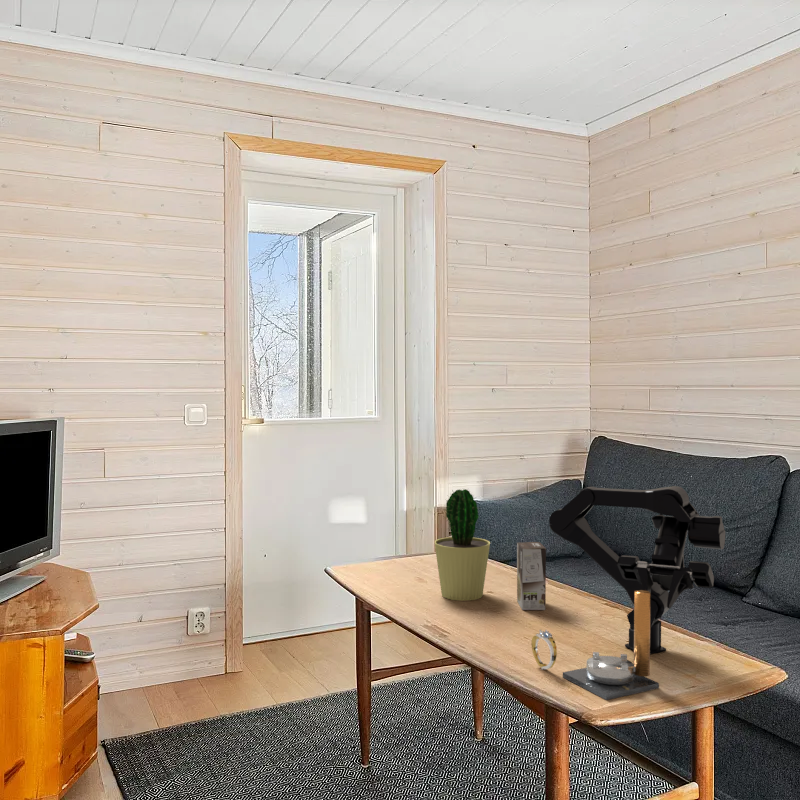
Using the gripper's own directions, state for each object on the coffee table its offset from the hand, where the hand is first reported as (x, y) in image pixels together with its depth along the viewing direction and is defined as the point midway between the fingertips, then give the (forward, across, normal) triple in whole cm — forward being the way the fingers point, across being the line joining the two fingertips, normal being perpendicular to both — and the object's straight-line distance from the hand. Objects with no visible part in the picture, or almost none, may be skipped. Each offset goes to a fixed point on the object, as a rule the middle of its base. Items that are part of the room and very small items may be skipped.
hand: (657, 606), depth 166 cm
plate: (+17, +7, -2) cm, 18 cm away
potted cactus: (-13, +63, -29) cm, 70 cm away
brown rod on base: (+16, +5, -1) cm, 17 cm away
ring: (+17, +20, -2) cm, 27 cm away
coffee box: (-13, +42, -31) cm, 54 cm away
